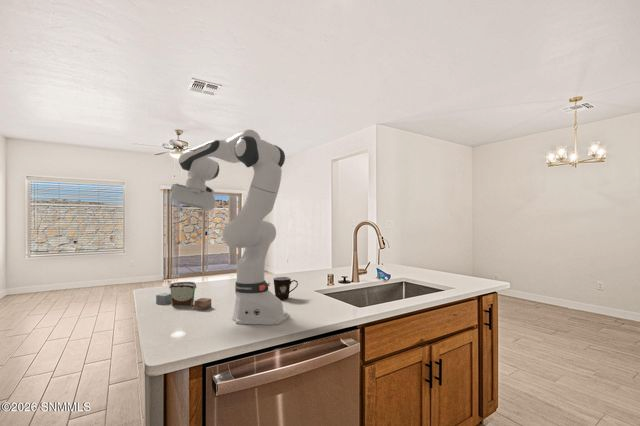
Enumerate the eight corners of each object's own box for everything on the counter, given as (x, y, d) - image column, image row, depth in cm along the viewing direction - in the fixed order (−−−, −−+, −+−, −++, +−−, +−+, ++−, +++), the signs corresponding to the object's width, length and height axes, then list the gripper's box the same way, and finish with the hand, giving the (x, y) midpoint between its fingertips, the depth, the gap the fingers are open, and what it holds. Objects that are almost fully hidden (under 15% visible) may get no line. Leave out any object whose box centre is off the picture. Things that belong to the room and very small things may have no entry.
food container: (201, 303, 144) (201, 281, 144) (194, 306, 137) (194, 284, 138) (176, 302, 145) (176, 281, 145) (168, 305, 139) (169, 283, 139)
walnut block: (211, 307, 136) (211, 298, 136) (203, 310, 132) (204, 301, 132) (201, 306, 138) (202, 297, 138) (194, 309, 133) (194, 300, 133)
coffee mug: (270, 300, 148) (271, 279, 148) (276, 296, 157) (276, 276, 157) (294, 301, 146) (294, 280, 146) (298, 297, 155) (298, 277, 155)
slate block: (172, 301, 146) (172, 293, 146) (164, 304, 142) (164, 295, 142) (164, 301, 148) (164, 292, 148) (156, 303, 143) (156, 295, 143)
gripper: (173, 179, 142) (168, 206, 136) (217, 191, 153) (213, 216, 147) (170, 185, 147) (165, 211, 141) (213, 196, 158) (209, 220, 152)
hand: (190, 214), depth 144 cm, fingers open, 8 cm apart
